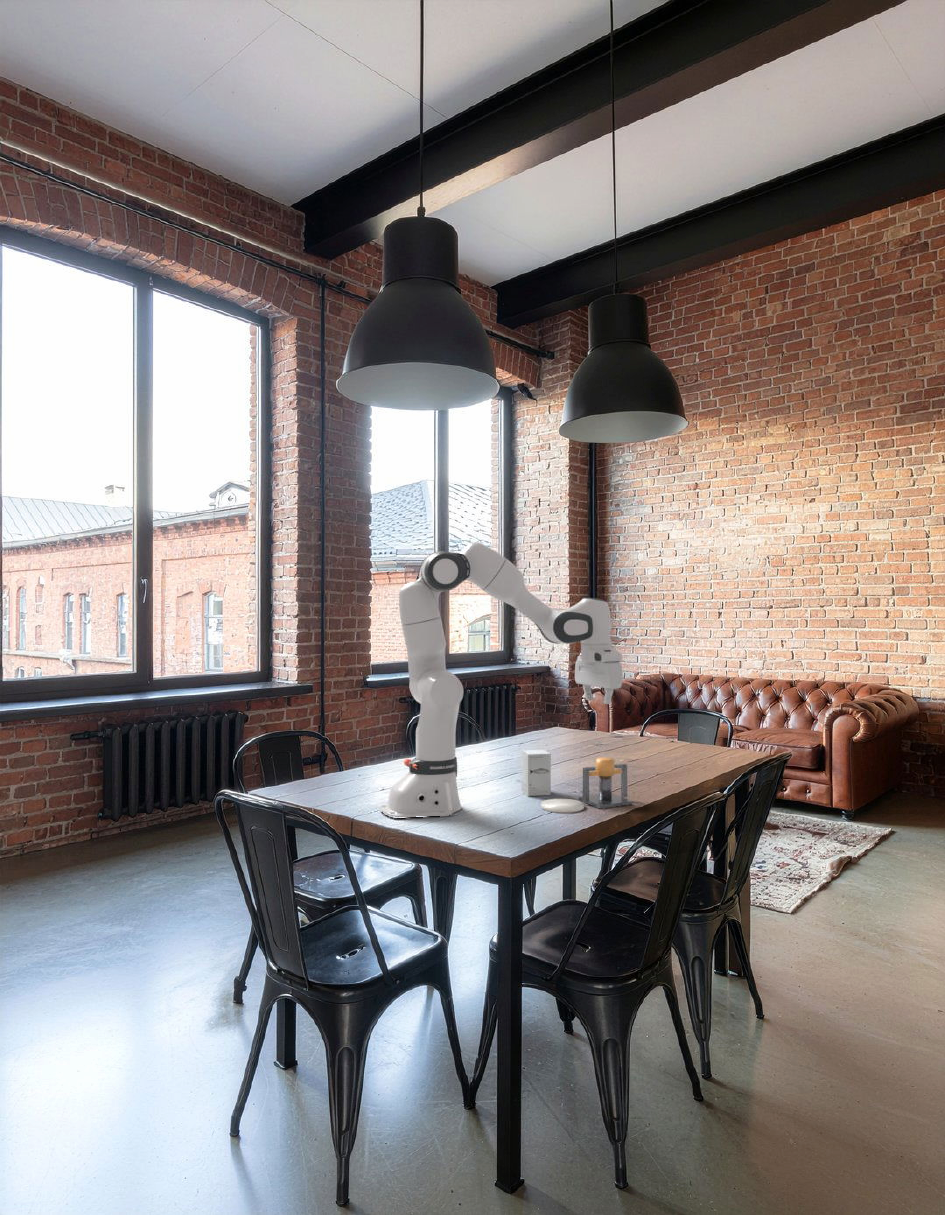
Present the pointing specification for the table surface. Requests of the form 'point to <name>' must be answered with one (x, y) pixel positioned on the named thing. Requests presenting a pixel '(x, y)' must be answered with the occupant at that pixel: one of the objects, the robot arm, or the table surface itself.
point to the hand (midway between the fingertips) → (598, 702)
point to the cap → (605, 767)
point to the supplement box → (536, 772)
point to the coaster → (562, 805)
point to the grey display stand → (605, 790)
